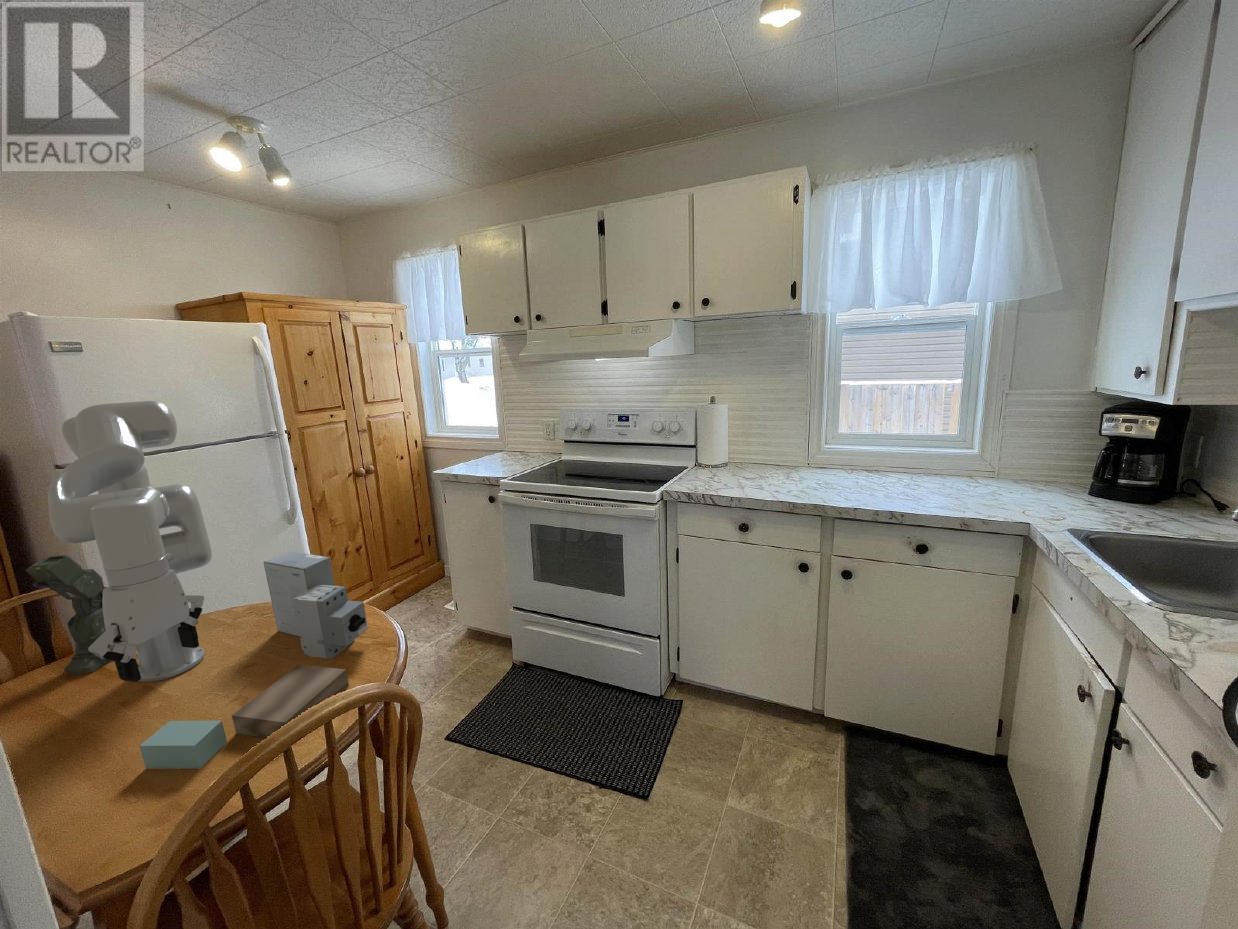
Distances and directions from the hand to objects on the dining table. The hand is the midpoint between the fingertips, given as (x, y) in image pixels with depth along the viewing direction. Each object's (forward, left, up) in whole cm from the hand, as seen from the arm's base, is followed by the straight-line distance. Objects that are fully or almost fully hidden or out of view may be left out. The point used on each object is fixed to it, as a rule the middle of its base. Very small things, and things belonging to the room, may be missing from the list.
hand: (162, 662), depth 88 cm
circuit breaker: (+4, +34, -20) cm, 40 cm away
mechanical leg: (-52, +20, -20) cm, 59 cm away
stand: (+10, +14, -19) cm, 26 cm away
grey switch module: (-11, +41, -20) cm, 47 cm away
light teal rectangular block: (0, 0, -20) cm, 20 cm away
